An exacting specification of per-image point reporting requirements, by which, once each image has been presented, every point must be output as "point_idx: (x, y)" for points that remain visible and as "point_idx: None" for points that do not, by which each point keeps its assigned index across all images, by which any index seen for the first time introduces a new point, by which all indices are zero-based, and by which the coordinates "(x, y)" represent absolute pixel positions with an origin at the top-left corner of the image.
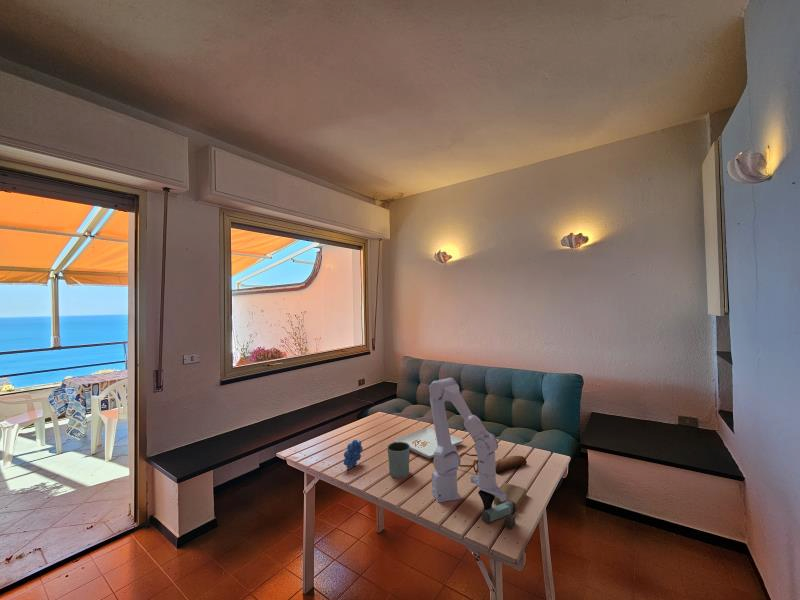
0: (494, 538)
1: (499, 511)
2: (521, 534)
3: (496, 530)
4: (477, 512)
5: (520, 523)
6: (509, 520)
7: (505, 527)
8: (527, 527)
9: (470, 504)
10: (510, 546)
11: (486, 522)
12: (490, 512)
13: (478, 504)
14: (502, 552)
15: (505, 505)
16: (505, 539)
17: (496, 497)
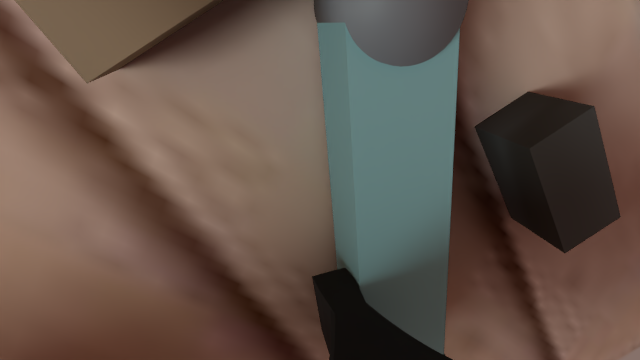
0: (535, 342)
1: (445, 229)
2: (634, 144)
3: (492, 295)
4: (221, 336)
5: (558, 41)
6: (599, 217)
7: (515, 217)
8: (629, 20)
9: (48, 349)
10: (636, 287)
11: None
12: (419, 337)
13: (74, 270)
14: (628, 350)
15: (408, 83)
16: (585, 284)
17: (124, 52)
